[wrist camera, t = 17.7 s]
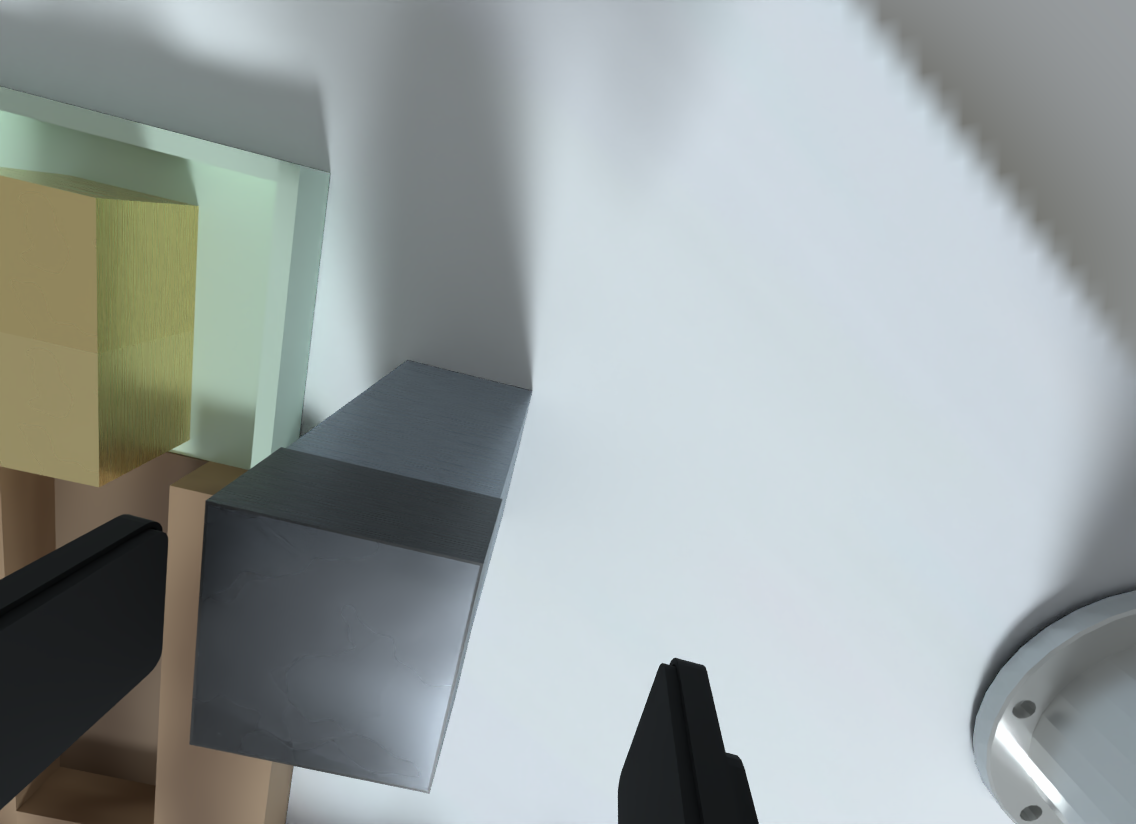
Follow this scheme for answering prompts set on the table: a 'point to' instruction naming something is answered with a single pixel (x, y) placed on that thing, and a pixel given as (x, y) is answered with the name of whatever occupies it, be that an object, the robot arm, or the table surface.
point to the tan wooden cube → (93, 262)
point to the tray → (209, 259)
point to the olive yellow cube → (92, 406)
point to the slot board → (164, 697)
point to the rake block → (355, 579)
